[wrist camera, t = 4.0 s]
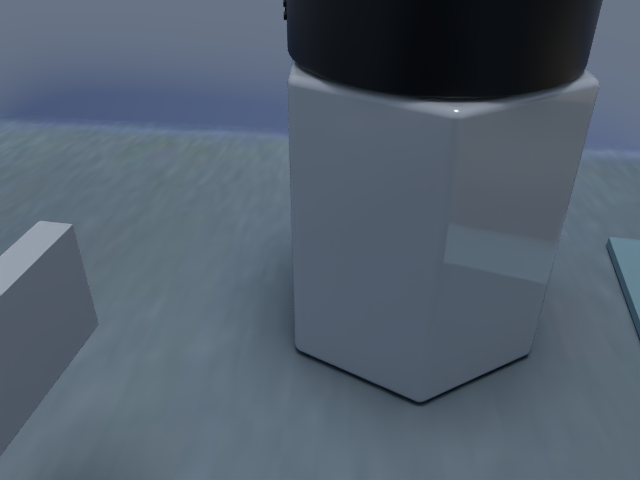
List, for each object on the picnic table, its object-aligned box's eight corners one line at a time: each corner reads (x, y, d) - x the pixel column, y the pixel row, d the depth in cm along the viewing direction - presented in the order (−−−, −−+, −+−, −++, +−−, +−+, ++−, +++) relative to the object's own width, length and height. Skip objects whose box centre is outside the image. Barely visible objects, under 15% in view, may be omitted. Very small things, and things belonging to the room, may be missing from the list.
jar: (434, 227, 27) (472, -76, 20) (580, 337, 21) (700, -42, 14) (247, 286, 23) (220, -59, 17) (359, 439, 17) (384, -4, 11)
